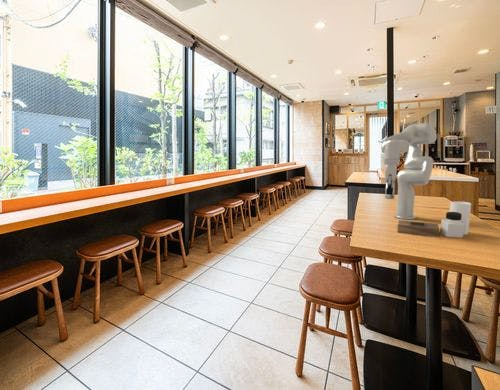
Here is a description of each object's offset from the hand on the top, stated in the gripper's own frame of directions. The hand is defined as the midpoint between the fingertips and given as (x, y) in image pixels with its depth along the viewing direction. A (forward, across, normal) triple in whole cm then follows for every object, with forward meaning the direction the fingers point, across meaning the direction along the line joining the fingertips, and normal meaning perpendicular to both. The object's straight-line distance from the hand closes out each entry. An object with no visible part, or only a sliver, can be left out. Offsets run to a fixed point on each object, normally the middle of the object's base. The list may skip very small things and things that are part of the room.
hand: (389, 193), depth 147 cm
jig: (+19, +6, +14) cm, 25 cm away
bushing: (+3, 0, 0) cm, 3 cm away
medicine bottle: (+19, +6, +29) cm, 35 cm away
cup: (+19, -3, +32) cm, 38 cm away
